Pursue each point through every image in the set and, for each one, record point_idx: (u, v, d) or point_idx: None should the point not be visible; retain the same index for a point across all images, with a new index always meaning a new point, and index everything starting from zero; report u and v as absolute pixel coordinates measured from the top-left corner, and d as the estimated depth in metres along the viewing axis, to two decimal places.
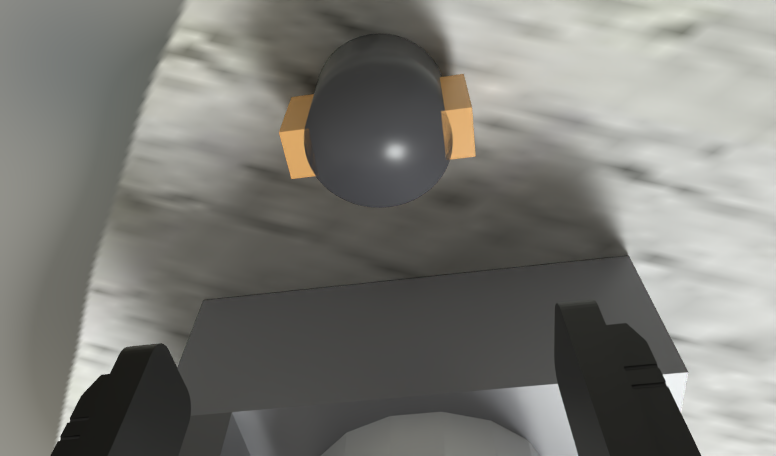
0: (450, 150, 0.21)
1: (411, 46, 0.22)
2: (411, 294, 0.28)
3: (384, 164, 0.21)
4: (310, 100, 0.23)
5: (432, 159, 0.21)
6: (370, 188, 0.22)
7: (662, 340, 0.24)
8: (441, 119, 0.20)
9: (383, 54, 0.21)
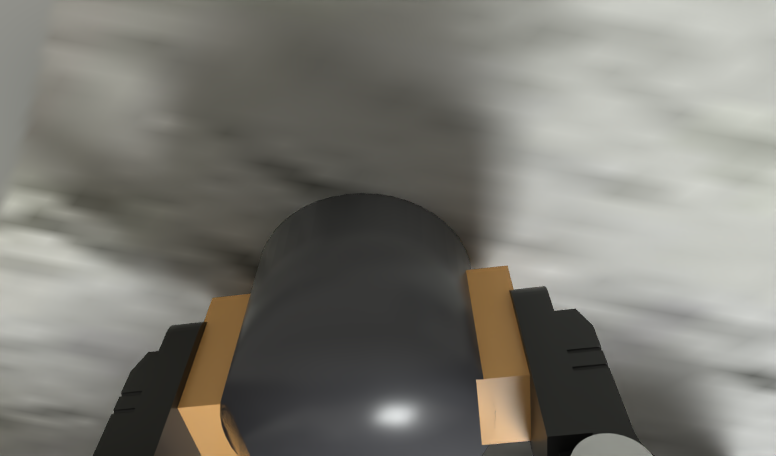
0: (490, 432, 0.11)
1: (418, 221, 0.13)
2: None
3: (369, 450, 0.12)
4: (242, 312, 0.13)
5: (457, 443, 0.12)
6: None
7: None
8: (476, 390, 0.11)
9: (367, 256, 0.11)
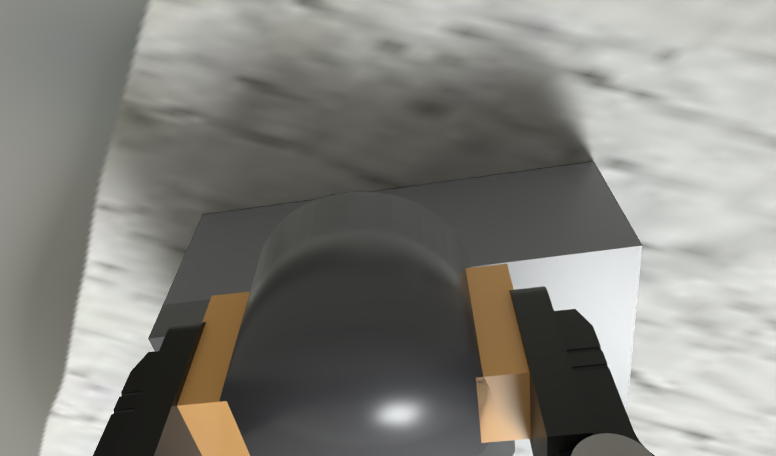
0: (490, 430, 0.11)
1: (417, 218, 0.13)
2: None
3: (370, 448, 0.12)
4: (241, 310, 0.13)
5: (456, 441, 0.12)
6: None
7: (620, 223, 0.26)
8: (475, 388, 0.11)
9: (367, 254, 0.11)
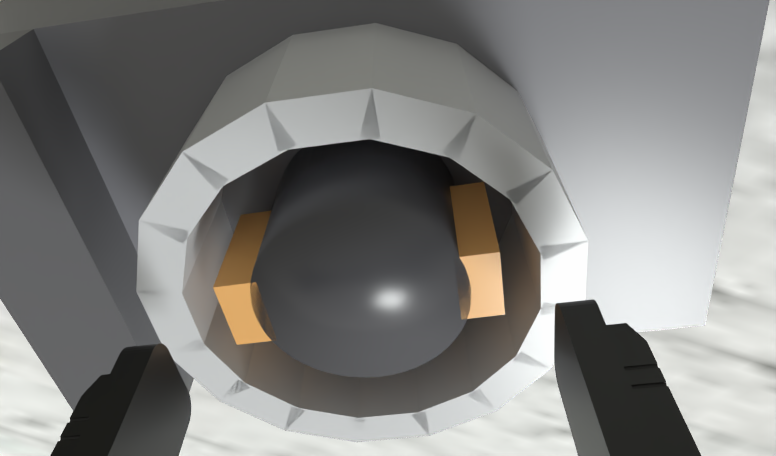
0: (467, 307, 0.14)
1: None
2: None
3: (371, 325, 0.15)
4: (265, 223, 0.16)
5: (441, 318, 0.14)
6: (352, 354, 0.15)
7: None
8: (454, 268, 0.14)
9: (366, 165, 0.14)
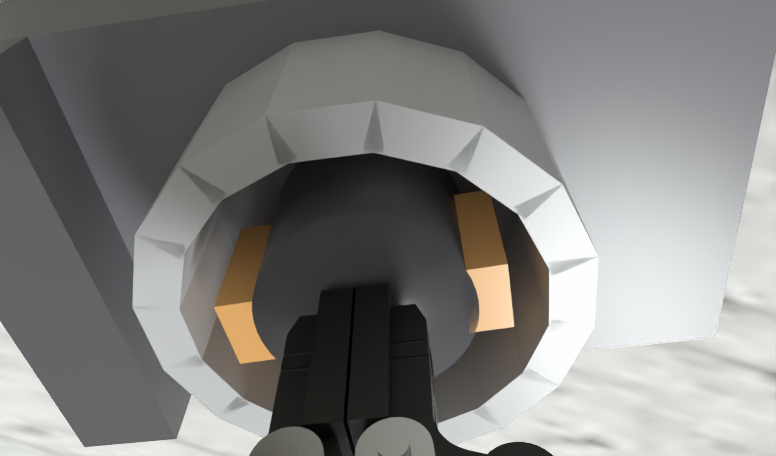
0: (476, 320, 0.14)
1: None
2: None
3: None
4: (266, 237, 0.15)
5: (449, 332, 0.14)
6: None
7: None
8: (460, 281, 0.13)
9: (368, 177, 0.14)
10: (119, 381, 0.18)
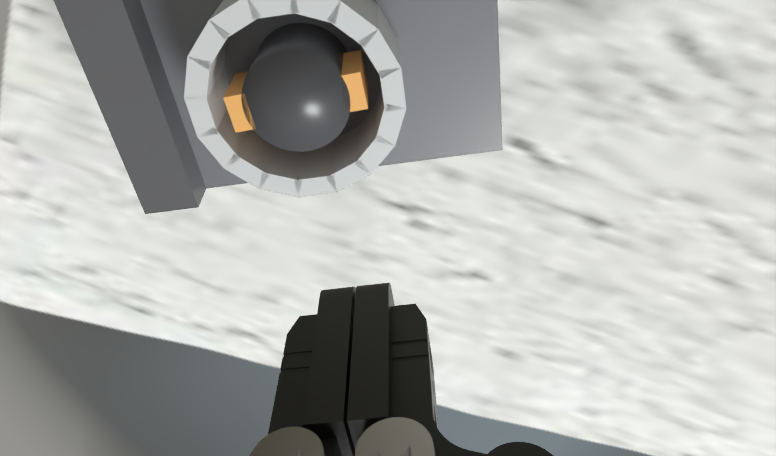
0: (349, 105, 0.29)
1: (321, 31, 0.30)
2: None
3: (302, 117, 0.29)
4: None
5: (337, 112, 0.29)
6: (294, 137, 0.30)
7: None
8: (339, 82, 0.28)
9: (296, 36, 0.29)
10: (168, 165, 0.33)
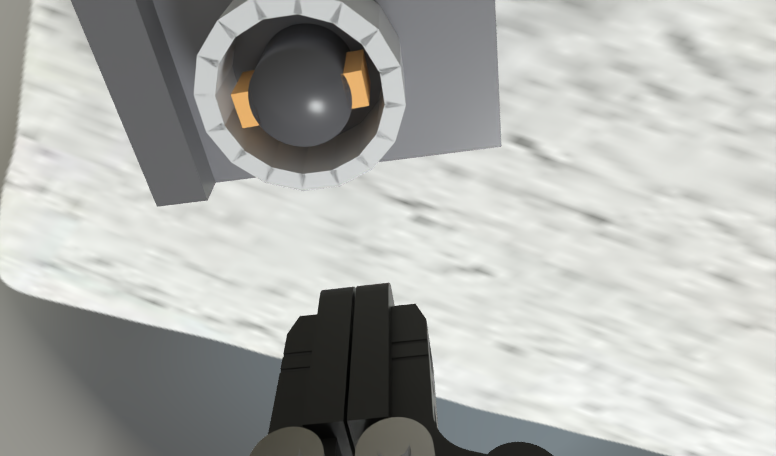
0: (350, 102, 0.30)
1: (325, 31, 0.32)
2: None
3: (306, 114, 0.30)
4: None
5: (339, 109, 0.30)
6: (298, 132, 0.31)
7: None
8: (341, 80, 0.29)
9: (301, 36, 0.30)
10: (178, 159, 0.34)
